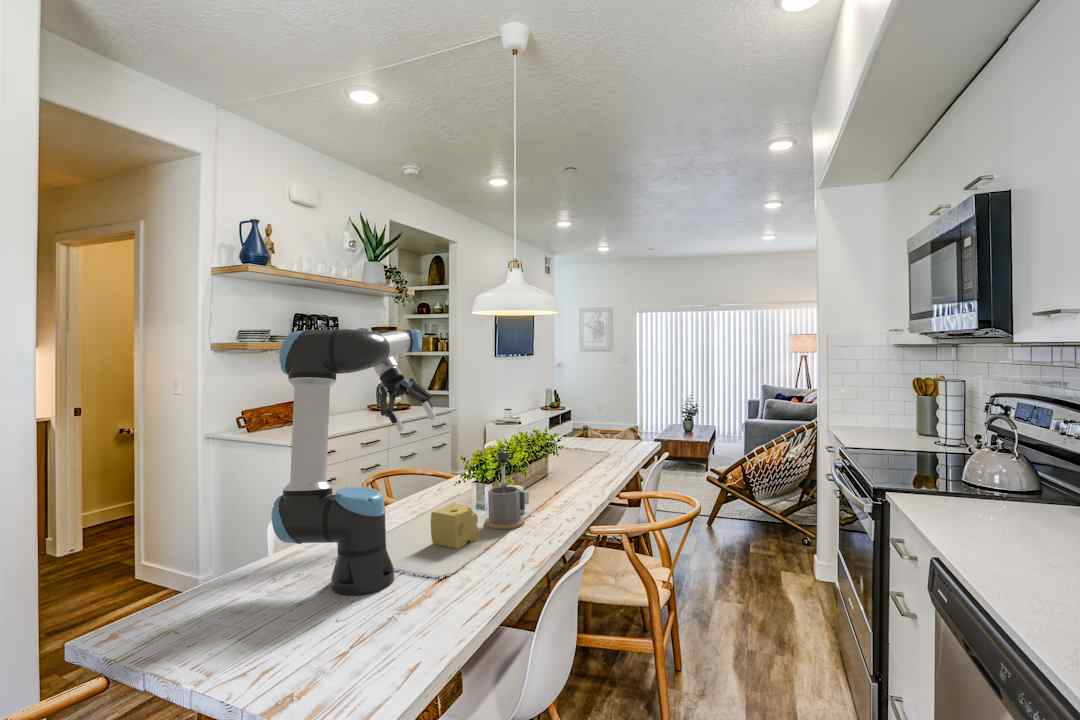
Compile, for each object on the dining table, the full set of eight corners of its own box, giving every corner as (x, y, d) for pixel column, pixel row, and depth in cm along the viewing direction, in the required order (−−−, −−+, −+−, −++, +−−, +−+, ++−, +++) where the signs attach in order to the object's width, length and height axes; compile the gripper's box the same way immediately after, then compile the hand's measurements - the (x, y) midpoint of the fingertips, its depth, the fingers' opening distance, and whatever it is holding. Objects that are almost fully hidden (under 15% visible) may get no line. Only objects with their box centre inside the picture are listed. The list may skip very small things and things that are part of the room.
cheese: (479, 539, 171) (478, 506, 170) (456, 550, 161) (455, 516, 161) (453, 533, 176) (452, 502, 176) (429, 544, 167) (428, 511, 167)
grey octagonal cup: (532, 524, 182) (531, 491, 182) (495, 532, 176) (494, 497, 175) (514, 514, 194) (513, 482, 193) (478, 521, 187) (477, 488, 187)
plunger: (517, 501, 183) (515, 452, 183) (499, 504, 180) (498, 455, 180) (508, 496, 189) (507, 449, 188) (491, 499, 186) (489, 451, 185)
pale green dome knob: (533, 513, 195) (532, 487, 194) (508, 518, 190) (507, 491, 190) (523, 508, 201) (522, 483, 201) (498, 512, 197) (497, 487, 196)
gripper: (412, 369, 206) (440, 418, 202) (353, 386, 187) (383, 440, 183) (421, 359, 201) (450, 409, 197) (361, 375, 182) (392, 430, 178)
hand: (418, 424), depth 190 cm, fingers open, 13 cm apart
